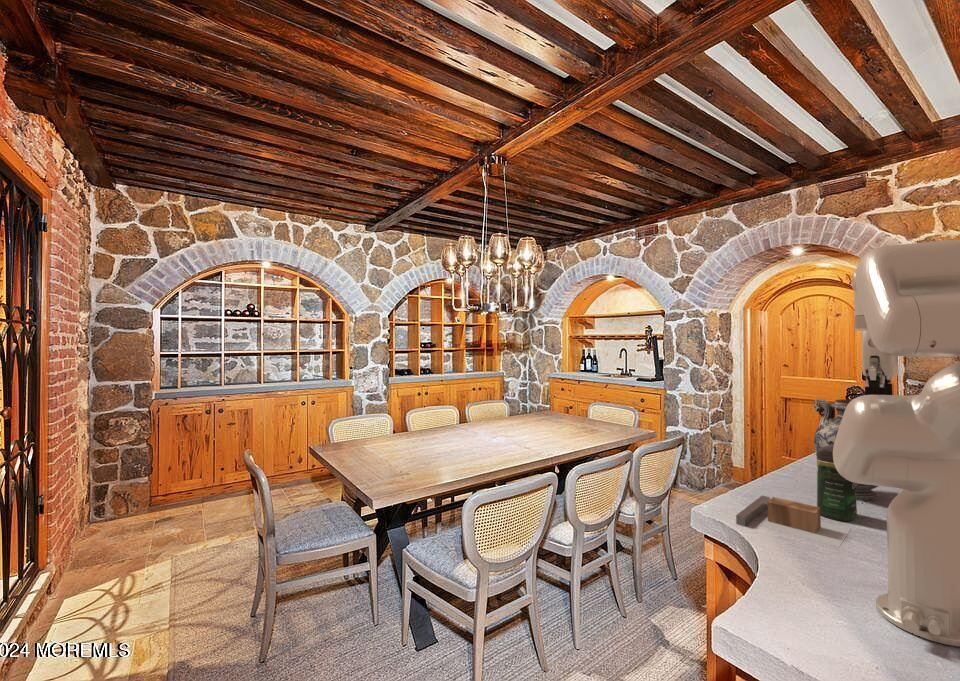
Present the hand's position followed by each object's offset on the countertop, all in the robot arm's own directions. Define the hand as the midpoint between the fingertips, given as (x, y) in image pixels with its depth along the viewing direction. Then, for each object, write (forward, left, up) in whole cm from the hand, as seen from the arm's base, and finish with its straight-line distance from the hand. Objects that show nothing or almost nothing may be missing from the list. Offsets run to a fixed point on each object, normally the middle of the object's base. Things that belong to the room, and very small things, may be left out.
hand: (879, 403), depth 93 cm
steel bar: (+6, +26, -33) cm, 43 cm away
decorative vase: (+44, +11, -34) cm, 56 cm away
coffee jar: (+21, +11, -34) cm, 41 cm away
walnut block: (+6, +22, -31) cm, 38 cm away
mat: (+6, +15, -33) cm, 37 cm away
